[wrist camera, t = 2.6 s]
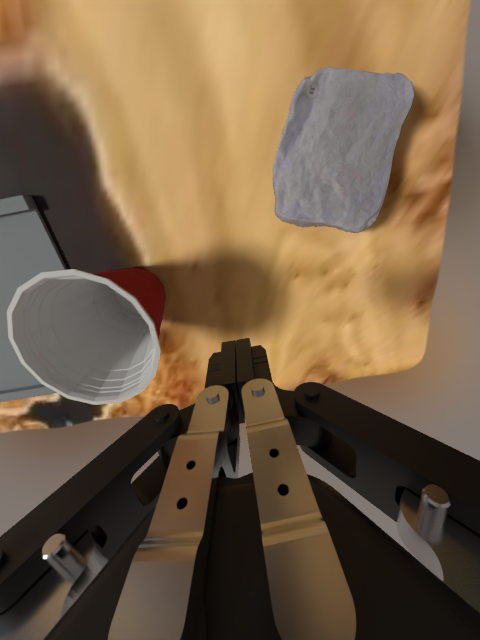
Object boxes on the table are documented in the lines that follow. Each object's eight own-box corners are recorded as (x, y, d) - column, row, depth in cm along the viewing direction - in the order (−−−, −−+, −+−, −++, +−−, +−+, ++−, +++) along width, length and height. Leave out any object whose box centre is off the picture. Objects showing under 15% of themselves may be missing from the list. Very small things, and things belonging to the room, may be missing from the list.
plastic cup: (131, 218, 25) (57, 233, 15) (206, 295, 29) (191, 354, 18) (67, 285, 28) (-35, 341, 17) (143, 348, 32) (97, 426, 21)
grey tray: (31, 195, 24) (21, 195, 23) (119, 377, 34) (115, 383, 33) (-151, 232, 25) (-168, 234, 24) (-15, 399, 35) (-23, 405, 34)
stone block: (268, 223, 28) (364, 233, 27) (265, 226, 23) (379, 236, 22) (285, 84, 23) (402, 87, 22) (285, 54, 19) (431, 56, 17)
